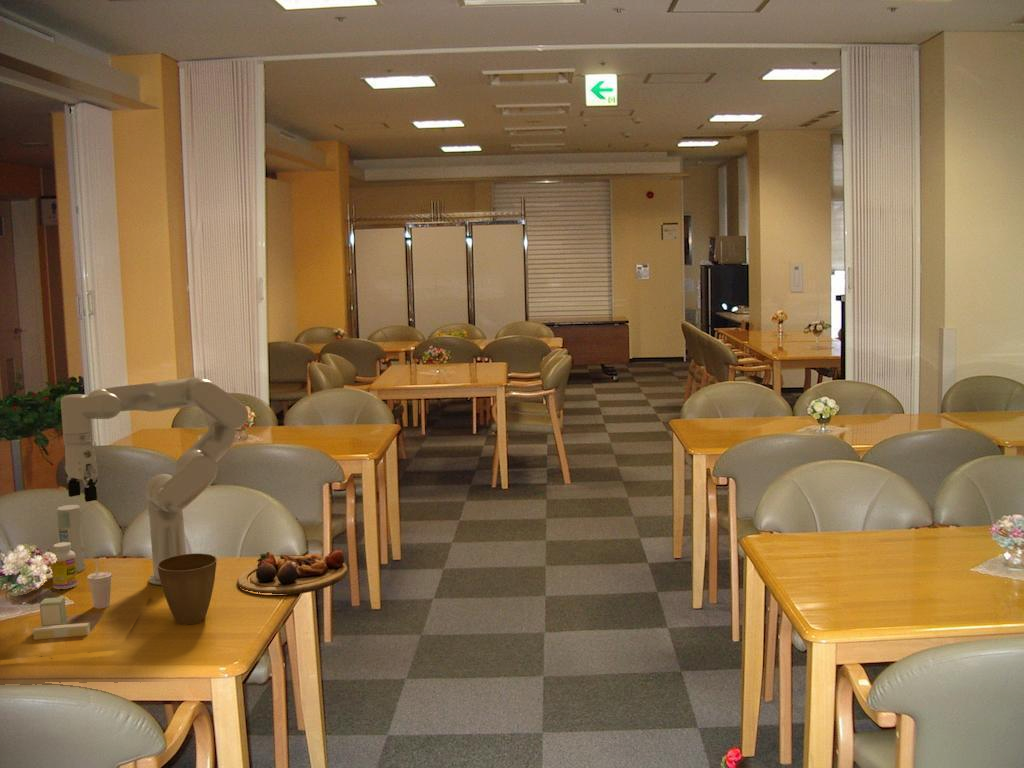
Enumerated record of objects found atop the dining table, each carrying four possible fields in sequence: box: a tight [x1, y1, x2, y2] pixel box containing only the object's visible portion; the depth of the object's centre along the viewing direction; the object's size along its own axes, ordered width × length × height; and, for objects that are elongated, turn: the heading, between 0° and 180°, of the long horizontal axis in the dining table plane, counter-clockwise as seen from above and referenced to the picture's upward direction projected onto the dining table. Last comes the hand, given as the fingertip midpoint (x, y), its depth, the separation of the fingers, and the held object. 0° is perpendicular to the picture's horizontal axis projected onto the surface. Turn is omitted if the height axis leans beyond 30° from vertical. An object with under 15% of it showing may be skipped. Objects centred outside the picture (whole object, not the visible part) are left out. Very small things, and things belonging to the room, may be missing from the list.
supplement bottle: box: [51, 542, 79, 590], centre depth 297 cm, size 7×7×13 cm
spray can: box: [56, 504, 86, 573], centre depth 312 cm, size 6×6×20 cm
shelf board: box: [33, 612, 105, 641], centre depth 263 cm, size 13×16×1 cm
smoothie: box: [86, 559, 113, 609], centre depth 277 cm, size 6×6×14 cm
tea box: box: [39, 596, 67, 627], centre depth 262 cm, size 5×4×7 cm
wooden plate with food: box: [236, 549, 349, 596], centre depth 298 cm, size 32×32×8 cm
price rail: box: [32, 623, 91, 640], centre depth 256 cm, size 13×2×4 cm, turn 98°
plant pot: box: [157, 553, 218, 625], centre depth 266 cm, size 15×15×16 cm
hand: (82, 498), depth 285 cm, fingers open, 9 cm apart
